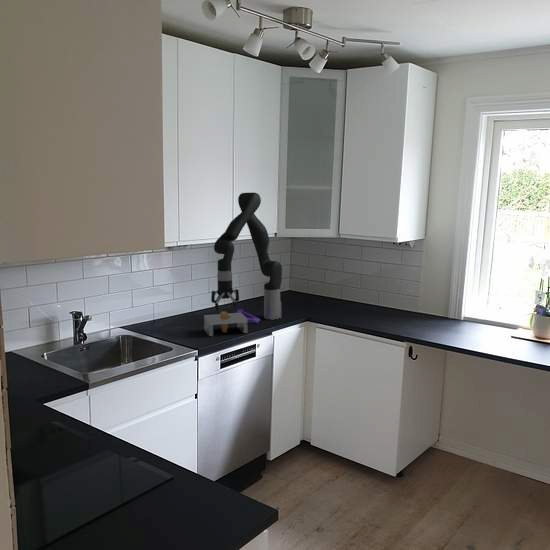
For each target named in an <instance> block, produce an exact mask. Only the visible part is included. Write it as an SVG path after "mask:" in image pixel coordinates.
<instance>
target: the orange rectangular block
mask: <svg viewBox="0 0 550 550" xmlns="http://www.w3.org/2000/svg"><path fill="white" fill-rule="evenodd" d="M220 314H221V317H222V318H228V312H227V311H220ZM220 329H221V332H222V333H228V329H229V324H220Z"/></svg>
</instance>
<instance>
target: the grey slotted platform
mask: <svg viewBox="0 0 550 550" xmlns="http://www.w3.org/2000/svg"><path fill="white" fill-rule="evenodd" d="M227 313H228V312H227ZM203 320H204V321H203V324H204V325H203V329H204V331H205V333H206V335H209V336H212V337H214V326H215V325H216V326H218V325H221V324H228V325H230V324H237V328H238V330H239V331H240V332H241V333H242V334H243V333H247V334H248V331H249V330H248V326H249V325H248V324H247V318H246V317H245V316H244V315H243V314H242V313H236V312H233V313H232V312H231V313H228V318H222V317H221V313H218V314H205V315H203ZM247 334H246V335H247ZM209 336H208V337H209Z"/></svg>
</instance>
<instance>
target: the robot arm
mask: <svg viewBox="0 0 550 550" xmlns="http://www.w3.org/2000/svg"><path fill="white" fill-rule="evenodd" d="M237 200H238V201H237V202H238V206H239V209H240V211H241V212H240V213H239V214H237V216H236V217H234V218H233V219H232V220H231V221H230V223H229V224H228V226H227V228H226V229H225V231H224V232H223V233H222V234H221V235H220V236H219V237H218V238H217V239H216V241H215V242H214V245H213V250H214V252H215V253H216V254H219V255H220V254H221V255H223V257H222V258H219V259H218V260H217V276H216V277H217V290H212V291H211V298H210V299H211V300H210V301H211V303H213V304H214V307H215V308H214V309H215V310H216V311H219V302H220V301H221V300H224V299H231V302H232V304H231V305H232V308H231V309H232V310H235V309H236V307H237V306H236V305H237V304H236V303H237V302H239V301H240V292H239V289H237V288H235V289H233V272H232V260H233V256H234V254H235V253H234V252H235V244H234V243H233V242H235V241H236V240H238V237H239V236H240V234H241V232H242V231H243V228H245V225H247V228H248V231H249V234H250V237H251V240H252V243H253V245H254V248H255V252H256V255H257V258H258V263H259V264H258V265H259V267H260V270H261V273H262V275H264V276H265V277H269V281H268V282H266V283H264V285H263V293H264V294H263V297H264V298H263V300H264V302H263V304H264V305H263V312H264V313H263V315H264V317H263V318H264V319H265V320H269V319H270V321H272V320H273V321H274V320H275V319H276V320H280V319H282V301H281V285H282V283H283V282H282V279H283V266H282V264H281V262H279V261H277V260H272V259H270V256H269V252H268V249H269V246H270V235H269V234H268V230H267V228H266V226H265V224H264V223H262V221H261V220H260V219H259V218H258V217H257V215H256V214H255V212H256V211H257V210H258V209H259V207H260V206H261V202H262V198H261V196H260V194H259V193H258V192H254V191H253V192H241V193H240V194H239V196H238V197H237ZM233 294H234V295H235V298H234V297H233ZM216 295H217V297H216ZM215 298H216V299H215ZM279 318H280V319H279Z"/></svg>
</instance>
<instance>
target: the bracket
mask: <svg viewBox="0 0 550 550" xmlns="http://www.w3.org/2000/svg"><path fill="white" fill-rule="evenodd" d="M235 313H242V314H243V315H244V316H245V317H246V318H247V323H258V322H259V321H260V322H261V318H259V317H257V316H255V315H252V314H251V313H249V312H246V311H244V309H243V308H239V309H237V310H236V312H235ZM260 322H259V323H260ZM259 323H258V324H259Z"/></svg>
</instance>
